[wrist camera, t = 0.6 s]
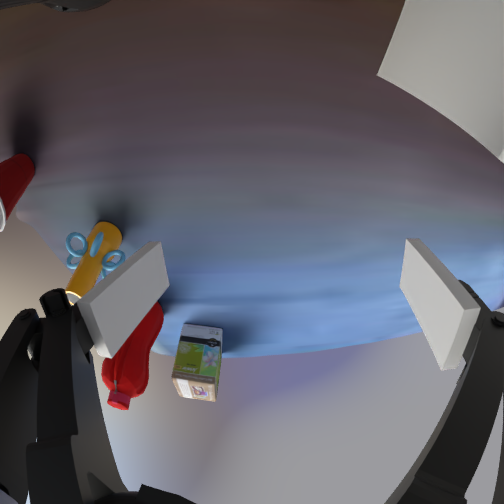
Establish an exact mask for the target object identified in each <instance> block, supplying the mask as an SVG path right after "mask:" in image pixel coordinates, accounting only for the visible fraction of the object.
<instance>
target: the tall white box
mask: <svg viewBox="0 0 504 504" xmlns="http://www.w3.org/2000/svg"><path fill="white" fill-rule="evenodd" d="M377 76H379V77H381V78H383V79H385V80H387V81H389V82H391V83H393V84H394V85H396V86H398V87H400V88H401V89H403V90H405V91H407V92H408V93H410V94H412V95H413V96H415V97H417V98H418V99H420V100H421V101H423V102H425V103H426V104H428V105H429V106H431V107H432V108H434V109H435V110H437V111H438V112H440V113H441V114H443V115H444V116H446V117H447V118H448V119H450V120H451V121H453V122H454V123H455V124H457V125H458V126H459V127H461V128H462V129H463V130H465V131H466V132H467V133H469V134H470V135H471V136H472V137H474V138H475V139H476V140H477V141H478V142H480V143H481V144H482V145H483V146H484V147H486V148H487V149H488V150H489V151H490V152H491V153H493V154H494V155H495V156H496V157H497V158H498V159H499V160H501V161H502V162H503V163H504V0H406V1H405V4H404V7H403V9H402V12H401V15H400V18H399V20H398V23H397V26H396V28H395V31H394V34H393V36H392V39H391V41H390V44H389V46H388V49H387V52H386V54H385V57H384V59H383V62H382V64H381V67H380V69H379V71H378V74H377Z"/></svg>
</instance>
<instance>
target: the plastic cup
mask: <svg viewBox="0 0 504 504" xmlns="http://www.w3.org/2000/svg"><path fill="white" fill-rule="evenodd" d="M34 173H35V169H34V165H33V163H32V161H31V159H30V158H29V157H28V156H27V155H25V154H23V153H21V154H16V155H15V156H13V157H11V158H9V159H8V160H5V161H3V162H1V163H0V232H1V231H3V229H4V227H5V224H6V221H7V219H8V217H9V215H10V214H11V212H12V210H13V208H14V207H15V205H16V204H17V202H18V201H19V199H20V197H21V196H22V194H23V193H24V191H25V189H26V188H27V186H28V185H29V183H30V182H31V180H32V178H33V176H34Z"/></svg>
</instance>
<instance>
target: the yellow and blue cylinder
mask: <svg viewBox="0 0 504 504" xmlns="http://www.w3.org/2000/svg"><path fill="white" fill-rule="evenodd" d="M73 237H78V238H79V239H81V241H82V242H83V246H84V247H83V250H77V251H74V250H73V249H72V247H71V245H70V241H71V239H72V238H73ZM121 242H122V234H121V232H120V231H119V229H118V228H117V227H116V226H115V225H113V224H111V223H109V222H99V223H97V224H96V225H95V226H94V228H93V229H92V231H91V233H90V234H89V236H88V237H87V239H85V237H84V236H83V235H82V234H80V233H77V232H73V233H71V234H69V235H68V237H67V239H66V247H67V249H68V251H69V252H70V253H71V254H70V255H69V257H68V259H67V266H68V267H69V268H71V269H75V268H76V270H75V271H74V273H73V275H72V277H71V279H70V281H69V283H68V285H67V287H66V289H65V291H66V294H67V297H68V300H69V302H70V304H72V305H74V304H75V303H76V302H77V301H78V300H79V299H80V298H81V297H83V296H84V295H85V294H86V293H87V292H88V291H90V290H91V289H92V288H93V287H94V285H95V283H96V281H97V279H98V277H99V275H100V273H101V274H102V277H103V279H104V278H105V277H106V272H105V270H115V269H116V268H117V267H118V266H119V265H121V264H122V263H123V262H124V261H125V254H124V252H122V251H120V250H118V248H119V246H120V245H121ZM115 255H120V256H121V259H120V260H119V262H118V263H116V264H115V263H114V262H109V261H111V260H112V259H113V258H114V256H115ZM75 256H76V257H81V256H83V257H82V259H81V260H80V261H79V262H78V263H76V264H71V260H72V258H73V257H75Z"/></svg>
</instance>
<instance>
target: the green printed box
mask: <svg viewBox="0 0 504 504" xmlns="http://www.w3.org/2000/svg"><path fill="white" fill-rule="evenodd" d="M221 358H222V329H221V328H215V327H207V326H200V325H192V324H183V327H182V331H181V335H180V340H179V344H178V349H177V353H176V358H175V363H174V367H173V372H172V380H173V383H174V385H175V387H176V389H177V391H178V393H179V395H180V396H182V397H188V398H194V399H200V400H208V401H216V397H217V390H218V383H219V375H220V366H221Z"/></svg>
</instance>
